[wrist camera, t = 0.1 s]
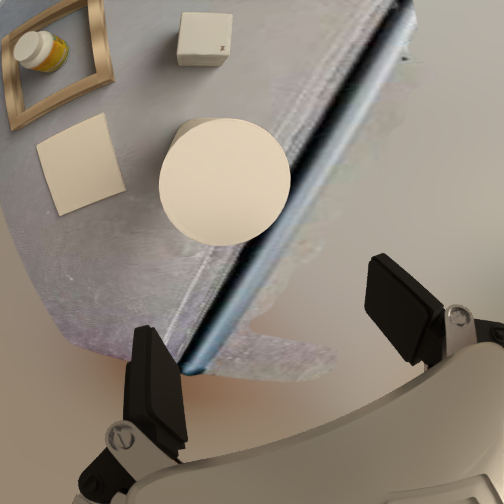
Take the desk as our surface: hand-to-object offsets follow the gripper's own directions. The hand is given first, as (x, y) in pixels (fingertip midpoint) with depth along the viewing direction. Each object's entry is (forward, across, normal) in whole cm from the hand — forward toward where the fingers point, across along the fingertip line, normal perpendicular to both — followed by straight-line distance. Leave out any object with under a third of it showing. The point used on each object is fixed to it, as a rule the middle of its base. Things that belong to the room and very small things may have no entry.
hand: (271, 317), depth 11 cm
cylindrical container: (+31, 0, -4) cm, 32 cm away
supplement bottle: (+31, +18, -25) cm, 44 cm away
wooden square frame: (+31, +18, -25) cm, 44 cm away
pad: (+31, +18, -6) cm, 37 cm away
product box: (+32, -3, -18) cm, 36 cm away
